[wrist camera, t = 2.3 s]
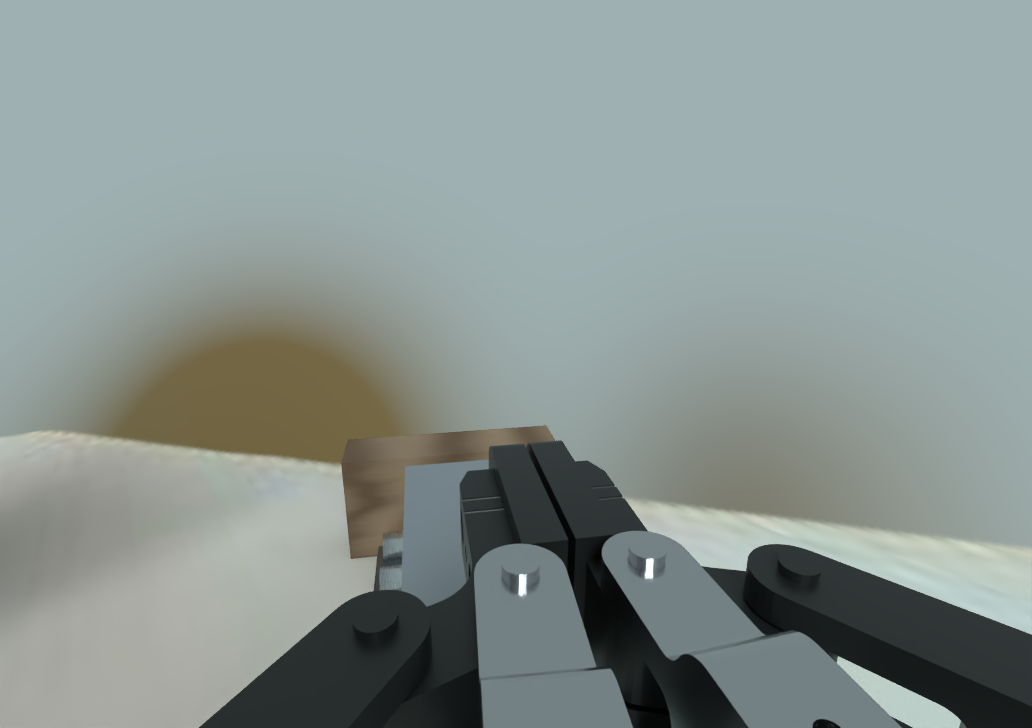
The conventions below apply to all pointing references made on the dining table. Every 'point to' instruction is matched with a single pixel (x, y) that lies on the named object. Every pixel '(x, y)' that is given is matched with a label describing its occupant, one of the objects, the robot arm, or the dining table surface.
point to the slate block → (434, 530)
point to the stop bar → (381, 474)
